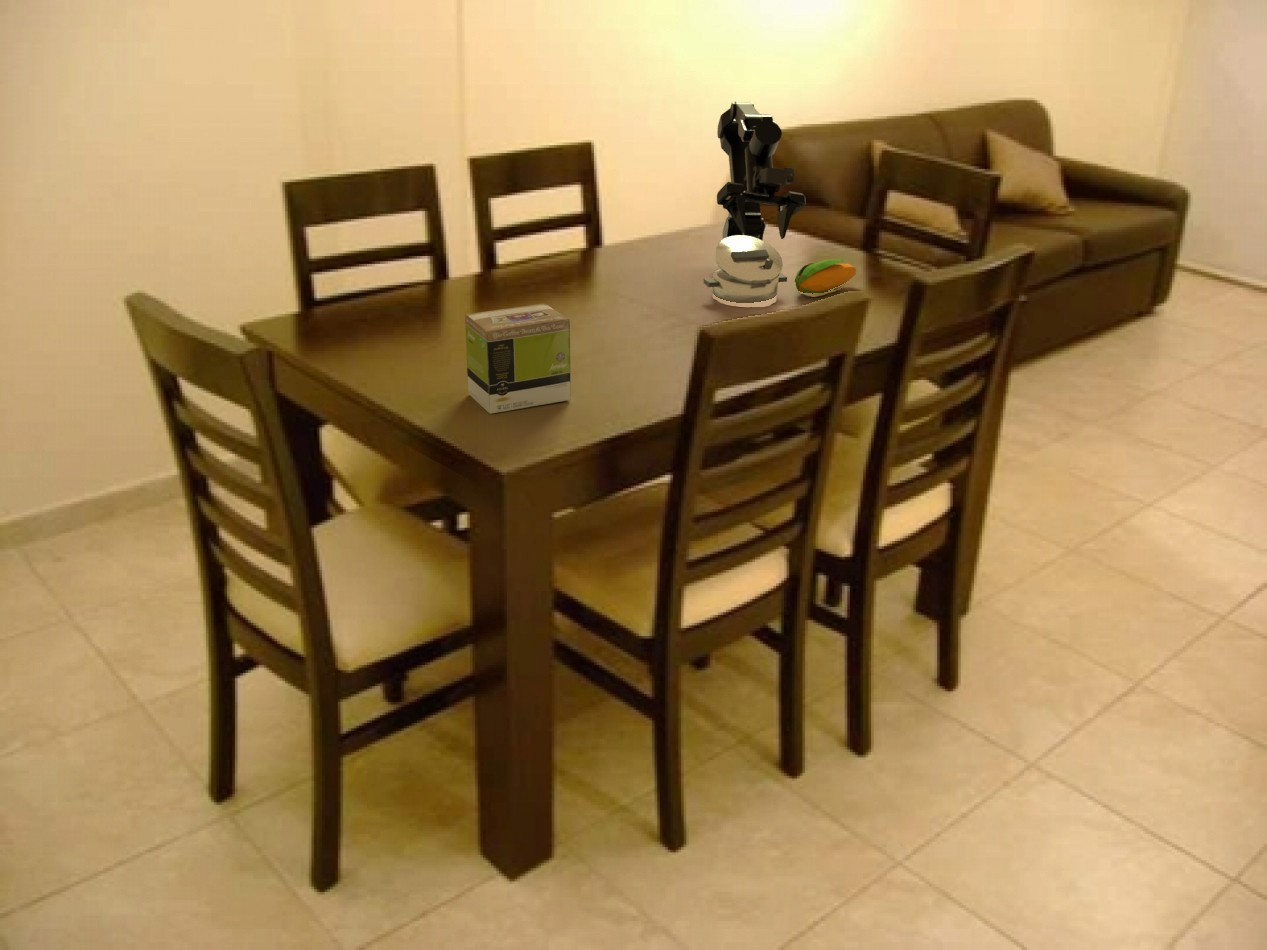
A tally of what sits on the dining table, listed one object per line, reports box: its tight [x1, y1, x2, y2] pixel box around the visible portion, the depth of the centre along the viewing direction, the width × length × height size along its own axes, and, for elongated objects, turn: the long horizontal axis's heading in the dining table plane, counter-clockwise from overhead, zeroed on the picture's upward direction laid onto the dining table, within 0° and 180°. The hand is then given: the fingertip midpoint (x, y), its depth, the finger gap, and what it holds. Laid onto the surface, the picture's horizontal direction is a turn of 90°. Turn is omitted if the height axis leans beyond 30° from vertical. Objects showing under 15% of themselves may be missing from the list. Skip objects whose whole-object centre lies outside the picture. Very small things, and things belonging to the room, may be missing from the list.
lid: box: [714, 235, 783, 285], centre depth 254 cm, size 15×15×3 cm
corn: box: [794, 258, 857, 294], centre depth 265 cm, size 7×8×20 cm
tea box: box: [464, 303, 572, 414], centre depth 200 cm, size 15×10×15 cm, turn 118°
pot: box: [703, 268, 788, 303], centre depth 258 cm, size 14×18×5 cm
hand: (763, 235), depth 254 cm, fingers open, 9 cm apart
